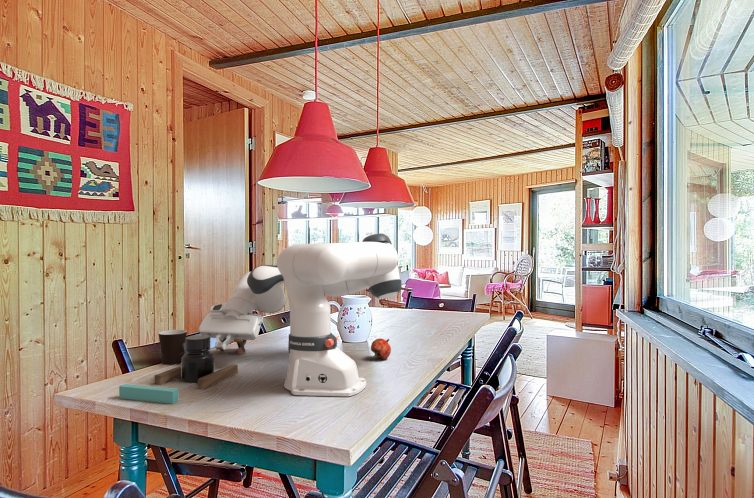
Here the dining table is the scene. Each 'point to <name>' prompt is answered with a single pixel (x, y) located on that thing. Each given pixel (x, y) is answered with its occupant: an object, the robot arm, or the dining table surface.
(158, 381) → the lane
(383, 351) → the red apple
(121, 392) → the bar
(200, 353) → the ink bottle
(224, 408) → the dining table surface
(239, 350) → the brown animal figurine
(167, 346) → the coffee mug
